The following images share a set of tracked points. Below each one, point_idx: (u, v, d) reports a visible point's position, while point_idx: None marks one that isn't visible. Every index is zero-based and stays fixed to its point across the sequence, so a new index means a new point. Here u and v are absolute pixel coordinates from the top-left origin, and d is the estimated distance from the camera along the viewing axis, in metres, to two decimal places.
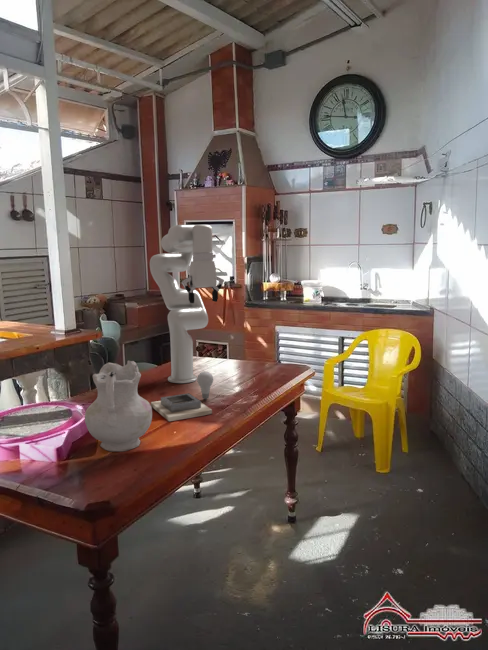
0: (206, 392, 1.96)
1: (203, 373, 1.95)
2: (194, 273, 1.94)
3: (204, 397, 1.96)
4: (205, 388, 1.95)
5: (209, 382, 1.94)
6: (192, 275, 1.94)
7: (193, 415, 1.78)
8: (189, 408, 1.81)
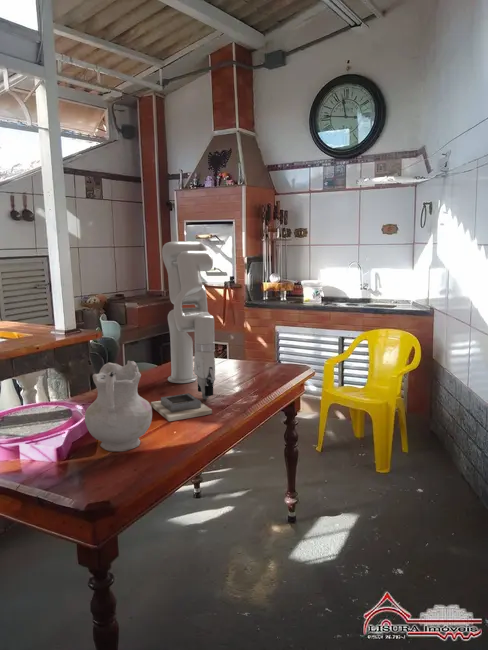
0: None
1: None
2: (214, 364, 1.93)
3: (204, 397, 1.96)
4: None
5: None
6: (213, 366, 1.92)
7: (193, 415, 1.78)
8: (189, 408, 1.81)
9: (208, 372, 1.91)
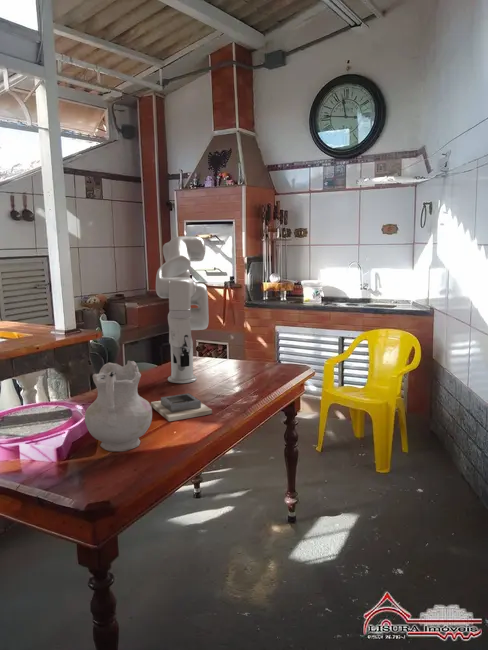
0: None
1: None
2: (190, 332, 1.79)
3: (180, 368, 1.83)
4: None
5: None
6: (189, 334, 1.78)
7: (193, 415, 1.78)
8: (189, 408, 1.81)
9: (183, 340, 1.77)
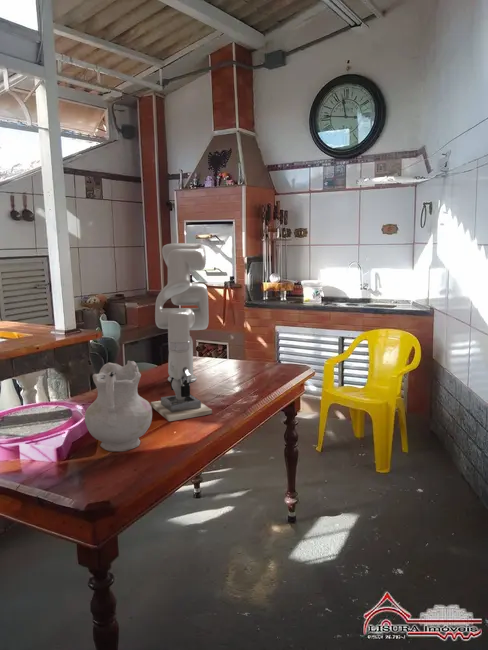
0: (181, 398, 1.84)
1: None
2: (189, 364, 1.80)
3: None
4: (180, 393, 1.83)
5: None
6: (188, 366, 1.79)
7: (193, 415, 1.78)
8: (189, 408, 1.81)
9: (182, 373, 1.78)
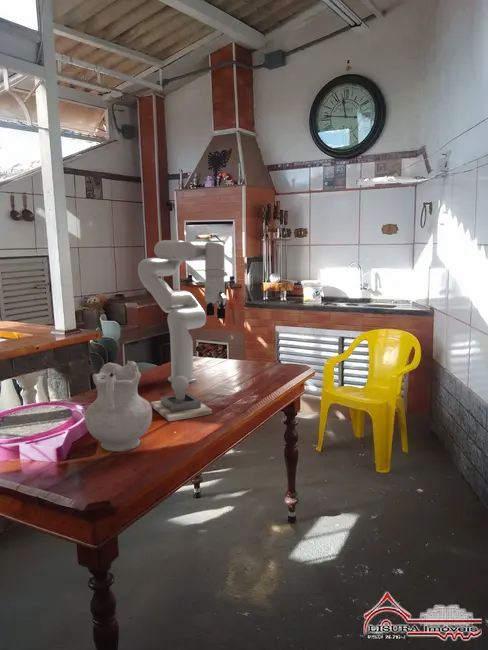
0: (181, 398, 1.84)
1: (177, 377, 1.83)
2: (224, 289, 2.00)
3: None
4: (180, 393, 1.83)
5: (184, 387, 1.82)
6: (223, 291, 2.00)
7: (193, 415, 1.78)
8: (189, 408, 1.81)
9: (218, 296, 1.99)
